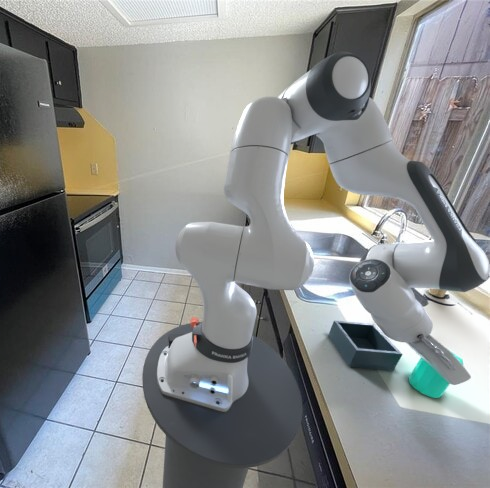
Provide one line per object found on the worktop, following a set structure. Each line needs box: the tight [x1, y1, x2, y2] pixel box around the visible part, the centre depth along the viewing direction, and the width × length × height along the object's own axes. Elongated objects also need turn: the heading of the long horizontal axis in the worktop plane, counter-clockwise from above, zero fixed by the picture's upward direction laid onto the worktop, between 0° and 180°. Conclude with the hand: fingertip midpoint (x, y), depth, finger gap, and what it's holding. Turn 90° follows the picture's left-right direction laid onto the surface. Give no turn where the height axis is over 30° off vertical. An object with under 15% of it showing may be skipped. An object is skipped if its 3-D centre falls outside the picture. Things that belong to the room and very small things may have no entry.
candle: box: [408, 349, 464, 399], centre depth 60 cm, size 6×6×12 cm
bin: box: [327, 320, 403, 372], centre depth 71 cm, size 11×11×6 cm
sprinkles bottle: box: [428, 289, 448, 298], centre depth 98 cm, size 5×5×14 cm
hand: (427, 355), depth 59 cm, fingers open, 8 cm apart
